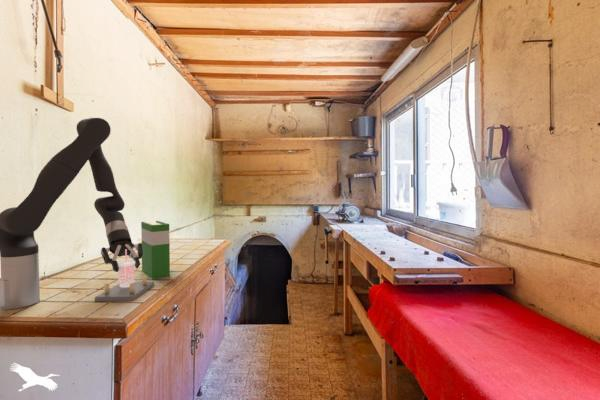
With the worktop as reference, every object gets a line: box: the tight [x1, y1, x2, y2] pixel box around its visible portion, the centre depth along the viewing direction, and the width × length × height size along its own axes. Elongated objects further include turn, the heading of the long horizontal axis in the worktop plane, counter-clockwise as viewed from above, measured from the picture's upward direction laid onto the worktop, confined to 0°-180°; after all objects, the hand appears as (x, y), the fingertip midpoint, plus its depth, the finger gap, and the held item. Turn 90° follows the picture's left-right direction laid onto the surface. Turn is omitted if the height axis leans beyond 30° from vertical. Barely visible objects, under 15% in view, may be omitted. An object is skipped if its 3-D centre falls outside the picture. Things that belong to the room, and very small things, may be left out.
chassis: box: [94, 275, 155, 302], centre depth 106 cm, size 16×13×5 cm
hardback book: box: [140, 220, 171, 280], centre depth 131 cm, size 18×7×24 cm, turn 43°
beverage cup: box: [117, 249, 135, 287], centre depth 106 cm, size 6×6×14 cm
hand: (127, 268), depth 105 cm, fingers closed on beverage cup, 6 cm apart
